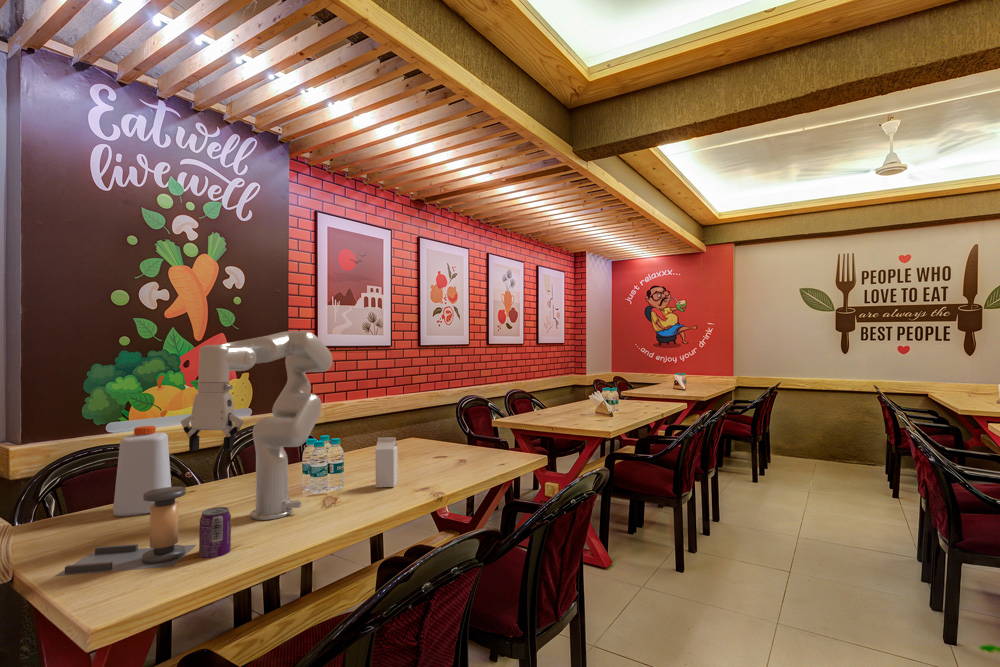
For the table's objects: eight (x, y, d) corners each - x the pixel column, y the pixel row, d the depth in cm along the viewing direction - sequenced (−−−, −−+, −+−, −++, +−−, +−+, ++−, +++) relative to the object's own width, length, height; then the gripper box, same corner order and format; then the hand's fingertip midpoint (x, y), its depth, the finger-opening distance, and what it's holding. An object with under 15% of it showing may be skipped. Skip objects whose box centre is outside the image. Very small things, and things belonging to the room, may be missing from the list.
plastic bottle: (109, 519, 160) (110, 431, 161) (123, 506, 173) (124, 425, 175) (164, 512, 166) (166, 428, 167) (174, 500, 179) (175, 422, 181)
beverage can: (236, 552, 132) (236, 506, 132) (218, 563, 125) (219, 515, 125) (211, 551, 132) (212, 506, 133) (192, 562, 125) (193, 514, 126)
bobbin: (191, 548, 132) (191, 485, 132) (175, 562, 123) (176, 495, 123) (153, 551, 130) (154, 487, 131) (134, 565, 121) (135, 497, 122)
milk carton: (393, 488, 193) (393, 439, 193) (375, 488, 193) (375, 439, 194) (397, 483, 200) (397, 435, 201) (380, 483, 200) (380, 436, 201)
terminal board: (197, 549, 134) (197, 538, 134) (172, 571, 120) (172, 560, 120) (92, 556, 130) (92, 546, 130) (54, 580, 116) (55, 569, 116)
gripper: (250, 388, 142) (248, 448, 141) (192, 388, 143) (190, 448, 142) (235, 389, 135) (233, 453, 134) (174, 389, 136) (171, 453, 135)
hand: (211, 450), depth 138 cm, fingers open, 9 cm apart
